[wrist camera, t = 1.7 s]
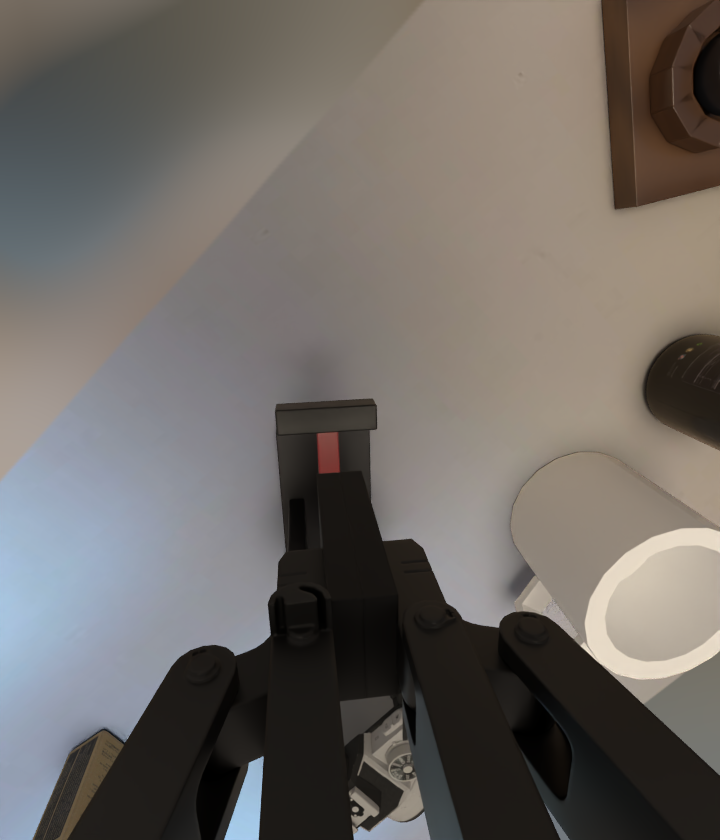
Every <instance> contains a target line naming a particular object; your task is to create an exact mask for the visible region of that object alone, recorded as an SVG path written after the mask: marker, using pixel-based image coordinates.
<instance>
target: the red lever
mask: <svg viewBox="0 0 720 840" xmlns="http://www.w3.org/2000/svg"><path fill="white" fill-rule="evenodd" d="M275 417H276V429H277V435H278V436H283V435H298V434H314V433H316V438H317V456H318V473H319V474H321V473H335V472H340V458H339V435H338V432H345V431H361V430H376V429H377V406H376V404H375V402H374V400H373V399H355V400H338V401H321V402H304V403H286V404H277V405H276V409H275Z"/></svg>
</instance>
